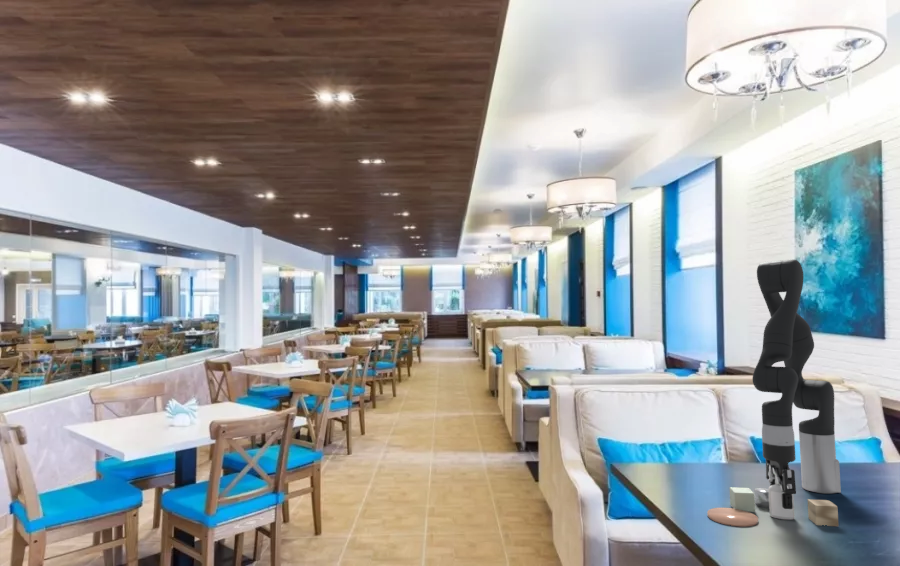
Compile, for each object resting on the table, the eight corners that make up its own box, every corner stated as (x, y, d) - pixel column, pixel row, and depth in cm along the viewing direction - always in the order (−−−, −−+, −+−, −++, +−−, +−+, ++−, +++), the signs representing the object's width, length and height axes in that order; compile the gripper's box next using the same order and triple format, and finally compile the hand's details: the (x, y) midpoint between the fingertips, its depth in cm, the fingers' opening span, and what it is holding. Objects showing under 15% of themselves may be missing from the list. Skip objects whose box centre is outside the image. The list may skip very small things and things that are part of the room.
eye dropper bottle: (790, 522, 145) (787, 475, 145) (767, 516, 149) (765, 470, 150) (797, 518, 147) (794, 472, 148) (774, 512, 152) (772, 467, 152)
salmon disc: (749, 511, 152) (749, 508, 153) (764, 528, 141) (764, 524, 141) (702, 509, 155) (702, 506, 155) (713, 525, 143) (713, 521, 143)
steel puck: (771, 502, 160) (770, 488, 160) (778, 508, 155) (777, 493, 155) (752, 501, 161) (751, 487, 161) (758, 507, 156) (757, 492, 156)
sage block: (749, 506, 158) (748, 488, 158) (755, 512, 153) (754, 493, 153) (730, 505, 159) (729, 487, 159) (735, 511, 154) (734, 492, 154)
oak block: (829, 519, 146) (828, 500, 147) (838, 526, 141) (837, 506, 142) (808, 518, 147) (807, 499, 148) (816, 525, 142) (815, 505, 143)
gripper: (804, 447, 142) (808, 513, 141) (783, 436, 156) (786, 495, 154) (772, 446, 143) (775, 511, 142) (754, 435, 157) (757, 494, 156)
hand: (781, 503), depth 148 cm, fingers open, 8 cm apart
